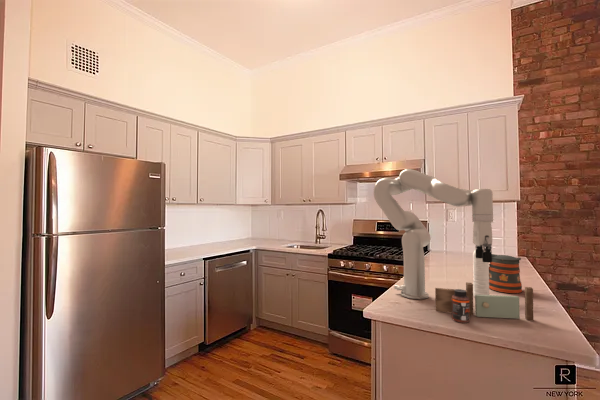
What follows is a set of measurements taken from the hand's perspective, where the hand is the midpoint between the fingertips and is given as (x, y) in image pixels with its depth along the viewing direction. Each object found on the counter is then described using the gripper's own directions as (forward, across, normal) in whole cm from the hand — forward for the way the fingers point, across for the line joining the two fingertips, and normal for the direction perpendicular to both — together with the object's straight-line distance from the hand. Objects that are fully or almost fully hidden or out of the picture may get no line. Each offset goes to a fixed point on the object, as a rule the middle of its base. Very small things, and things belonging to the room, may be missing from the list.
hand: (483, 260), depth 130 cm
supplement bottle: (+21, +16, -13) cm, 29 cm away
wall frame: (+20, +8, -3) cm, 22 cm away
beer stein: (+21, -34, +17) cm, 44 cm away
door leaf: (+20, +10, +2) cm, 23 cm away
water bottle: (+21, -19, +4) cm, 28 cm away
